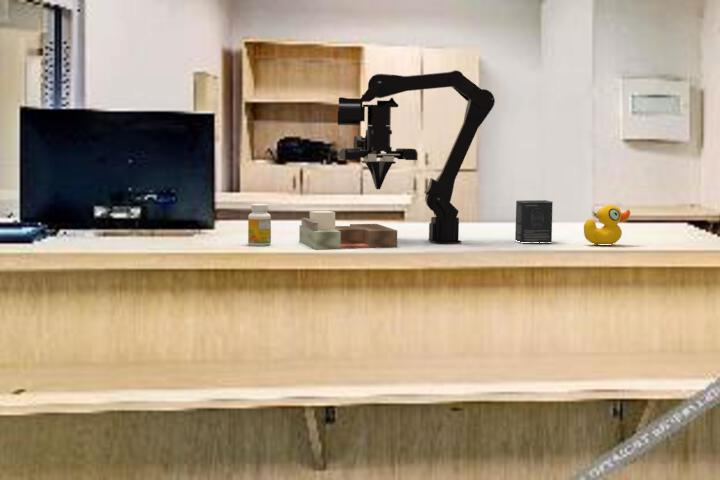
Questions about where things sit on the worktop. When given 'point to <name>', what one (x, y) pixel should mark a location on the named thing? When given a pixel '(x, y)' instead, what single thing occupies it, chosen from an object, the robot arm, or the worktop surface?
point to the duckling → (606, 226)
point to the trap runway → (347, 236)
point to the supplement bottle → (259, 225)
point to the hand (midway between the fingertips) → (378, 189)
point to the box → (534, 221)
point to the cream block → (323, 219)
